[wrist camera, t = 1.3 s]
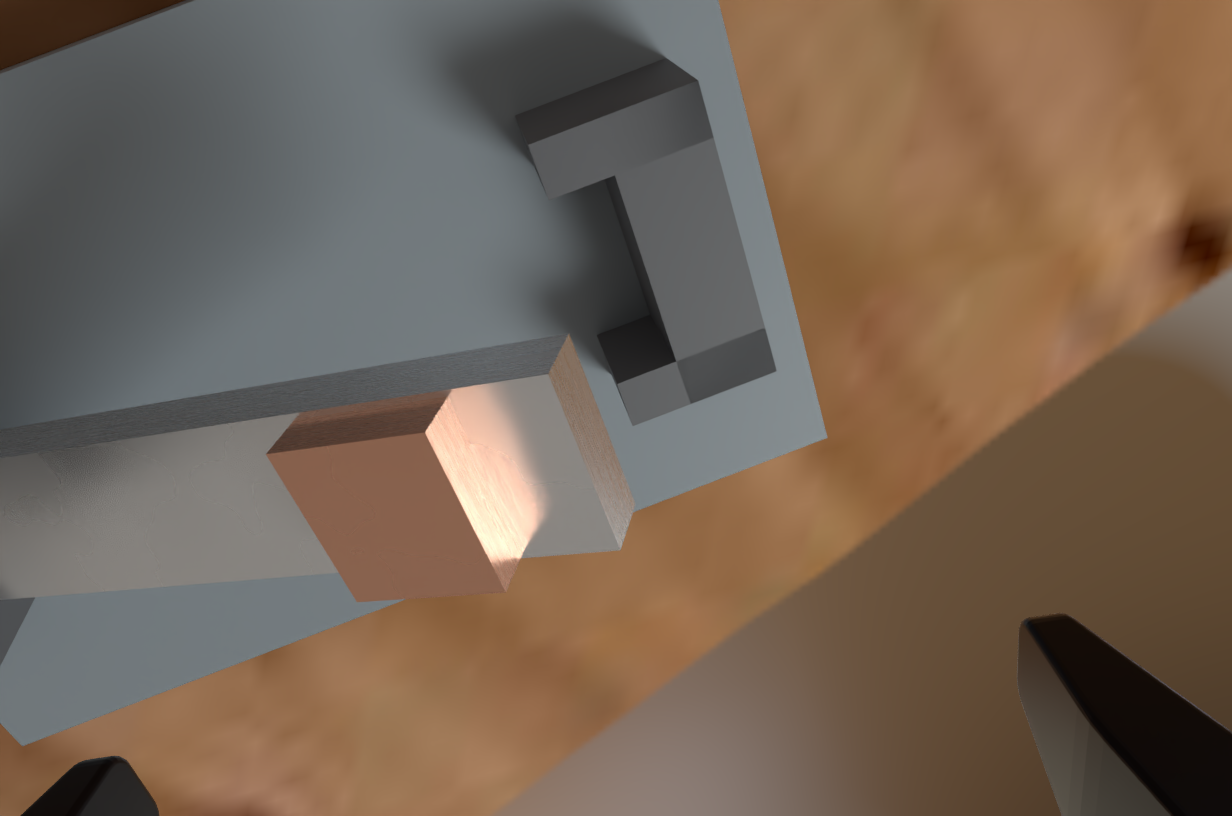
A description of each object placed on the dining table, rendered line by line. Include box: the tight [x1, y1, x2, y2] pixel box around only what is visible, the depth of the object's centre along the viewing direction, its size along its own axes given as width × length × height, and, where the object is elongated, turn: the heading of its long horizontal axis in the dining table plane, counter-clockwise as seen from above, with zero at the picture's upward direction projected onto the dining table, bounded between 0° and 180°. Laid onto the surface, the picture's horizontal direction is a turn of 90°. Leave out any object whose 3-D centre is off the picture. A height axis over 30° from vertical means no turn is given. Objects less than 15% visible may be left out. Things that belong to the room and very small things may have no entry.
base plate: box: [0, 0, 827, 746], centre depth 19 cm, size 20×13×4 cm, turn 108°
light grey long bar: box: [0, 333, 635, 602], centre depth 16 cm, size 15×3×2 cm, turn 108°
